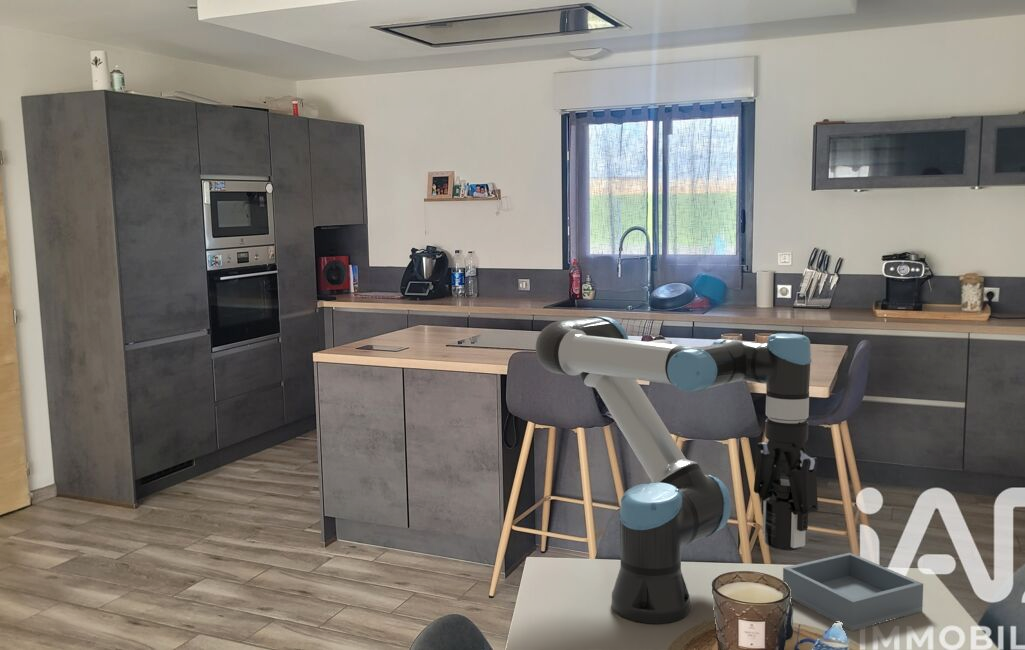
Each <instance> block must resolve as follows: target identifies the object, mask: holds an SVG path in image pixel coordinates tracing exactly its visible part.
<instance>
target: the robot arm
mask: <svg viewBox="0 0 1025 650" xmlns="http://www.w3.org/2000/svg"><path fill="white" fill-rule="evenodd" d="M535 354H536V358H537V360H538V362H539V364H540V365H541V366H542V367H543V368H544V369H545V370H547V371H548V372H551V373H553V374H556V375H565V376H579V377H580V378H581V380H582V382H583V384H584V385H585V386H587V387H589V388H594V389H595V390H596V392H597V393H598V395H599V396H600V398H601V399H602V402H603V403H604V405H605V407H606V408H607V410H608V412H609V413H610V415H611V416H612V418H613V420H614V421H615V423H616V424H617V426H618V428H619V430H620V431H621V433H622V434H623V436H624V438H625V439H626V441H627V443H628V444H629V446H630V448H631V449H632V451H633V453H634V454H635V456H636V458H637V459H638V461H639V463H640V464H641V466H642V468H643V469H644V471H645V472H646V474H647V476H648V477H649V479H650V482H649V483H640V484H637V485H636V484H635V485H634V486H631V487H630V488H629V489H627V490H626V491H625V492H623V494H622V497H621V499H620V507H619V508H620V509H619V513H618V514H619V531H620V534H619V537H620V538H619V540H620V542H619V543H620V546H619V547H620V549H619V550H620V553H619V554H620V556H619V557H620V567H619V570H618V574H617V577H616V580H615V583H614V587H613V589H612V591H611V608H612V609H613V612H615V613H616V614H618V615H619V616H620V617H623V618H625V619H627V620H630V621H633V622H638V623H644V624H665V623H666V624H668V623H672V622H675V621H679V620H681V619H684V618H685V617H686V616H687V615H689V612H690V610H691V599H690V598H691V597H690V594H689V590H688V588H687V584H686V582H685V577H684V575H683V572H682V547H684V546H687V545H690V544H691V543H694V542H696V541H698V540H700V539H703V538H709V537H711V536H712V535H713V534H714V533H717V532H718V531H720V530H721V529H723V528H724V527H725V526H726V524H727V523H728V521H729V519H730V517H731V509H732V500H731V495H730V493H729V490H728V488H727V487H726V485H725V484H724V483H723V481H721V479H719V478H718V477H717V476H713V475H711V474H705V472H704V471H703V469H702V468H701V466H700V464H699V463H698V462H697V461H693V460H689V459H687V458H686V456H685V455H684V454H683V452H682V450H681V449H680V447H679V446H678V444H677V442H676V440H675V439H674V438H673V436H672V434H671V433H670V431H669V430H668V428H667V426H666V424H664V421H663V420H662V419H661V417H660V415H659V414H658V412H657V411H656V409H655V408H654V405H653V404H652V403H651V401H650V399H649V398H648V396H647V395H646V393H645V391H644V390H643V388H642V387H641V385H640V384H639V382H638V381H645V382H650V383H652V382H653V383H658V384H659V383H660V384H666V385H673V386H674V387H675V388H677V389H678V390H679V391H682V392H687V393H689V392H701V391H705V390H706V389H710V388H714V387H718V386H719V387H720V386H722V385H727V384H728V385H729V384H731V383H732V384H733V383H737V382H741V381H742V382H751V383H758V384H765V386H766V389H765V390H766V393H765V394H766V395H765V396H766V397H765V416H766V417H767V418H766V419H765V427H764V429H765V430H764V431H765V433H764V436H765V438H766V439H767V441H764V442H758V443H756V445H755V450H756V462H755V463H756V465H755V472H754V484H753V492H754V493H755V494H758V495H759V497H760V499H761V515H762V535H764V533H765V504H766V498H767V497H768V496H769V495H770V494H772V493H773V492H772V491H771V488H772V481H773V480H776V479H781V476H782V473H783V470H784V474H785V476H786V477H787V478H788V480H789V483H790V488H791V493H792V497H793V502H794V507H795V511H792V520H791V547H792V548H797V547H801V548H802V547H805V546H806V531H808V528H809V514H810V513H816V512H818V510H819V506H818V502H819V501H818V486H817V485H818V481H817V469H818V464H819V459H818V458H817V457H811V456H809V455H808V454H807V452H806V449H805V444H806V442H807V441H808V440H809V423H810V422H808V420H807V419H808V418H809V412H810V376H811V364H812V358H811V356H812V355H811V340H810V339H809V337H807V336H806V335H804V334H798V333H784V332H783V333H774V334H773V333H772V334H770V335H769V336H768V337H767V342H763V343H762V342H756V341H755V342H753V341H748V340H747V341H746V340H738V339H736V338H729V339H727V338H725V339H724V338H719V339H716V340H715V341H713V343H712V344H710V345H706V346H692V345H683V344H682V345H681V344H673V343H661V342H652V341H643V340H635V339H629V338H628V334H627V332H626V330H625V329H624V328H623V326H622V325H621V324H620V323H619V322H618V321H617V320H615V319H614V318H612V317H609V316H599V315H598V316H597V315H593V316H592V315H591V316H588V317H585V318H576V319H566V320H557V321H554V322H551V323H550V324H547V326H545V327H544V328H543V329H542V330H540V332H539V334H538V336H537V338H536V341H535ZM637 380H638V381H637ZM801 505H802V507H801Z"/></svg>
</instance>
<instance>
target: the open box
mask: <svg viewBox="0 0 1025 650" xmlns="http://www.w3.org/2000/svg"><path fill="white" fill-rule="evenodd" d="M783 581H784V582H786V583H787V584H788V586H789V587H790V589H791V597H792V599H791V600H793V601H795V602H797V603H799V604H800V605H802V606H805V607H806V608H808V609H810V610H811V611H814V612H816V613H817V614H819V615H821V616H823V617H825V618H828V620H831V621H832V622H834V623H836V622H835V621H840V622H842V623H843V626H842V627H843V628H845V629H848V630H850V631H852V632H854V631H857V630H861V628H862V629H864V627H865V628H869V627H872V626H874V625H873V624H875V623H879V622H883V621H886V620H890V619H894V618H897V619H899V618H898V617H901V618H903V617H902V616H904V617H907V616H906V615H908V616H911V614H912V615H915V614H919V613H922V612H923V604H924V603H923V602H924V601H923V600H924V599H923V598H924V583H922V582H921V581H920V582H919V581H918V580H915V579H913V578H911V577H909V576H906V575H903V574H901V573H899V572H896V571H894V570H893V569H890V568H887V567H885V566H882V565H880V564H877V563H875V562H873V561H870V560H868V559H866V558H864V557H861V556H859V555H856V554H854V553H852V552H847V553H841V554H838V555H833V556H829V557H823V558H820V559H816V560H812V561H807V562H802V563H798V564H793V565H790V566H785V567H783V568H782V582H783ZM894 620H895V619H894ZM890 621H891V620H890ZM883 623H884V622H883ZM879 624H880V623H879ZM871 625H872V626H871ZM868 626H869V627H868Z"/></svg>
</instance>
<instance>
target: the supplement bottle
mask: <svg viewBox="0 0 1025 650" xmlns="http://www.w3.org/2000/svg"><path fill="white" fill-rule="evenodd" d="M771 491H772V492H773V493H772V494H770V495H769V496H768V497H767V498H766V504H765V533H764V534H763V536H764V543H765V545H766V546H767V547H769V548H771V549H774V550H776V551H777V550H779V551H785V552H786V551H787V552H788V551H789V552H791V551H798V550H800V549H801V548H802V547H797V548H792V547H791V520H792V511H795V507H794V502H793V497H792V493H791V488H790V483H789V479H786V478H785V479H784V478H780V479H776V480H773V481H772V488H771ZM801 507H802V505H801Z"/></svg>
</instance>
